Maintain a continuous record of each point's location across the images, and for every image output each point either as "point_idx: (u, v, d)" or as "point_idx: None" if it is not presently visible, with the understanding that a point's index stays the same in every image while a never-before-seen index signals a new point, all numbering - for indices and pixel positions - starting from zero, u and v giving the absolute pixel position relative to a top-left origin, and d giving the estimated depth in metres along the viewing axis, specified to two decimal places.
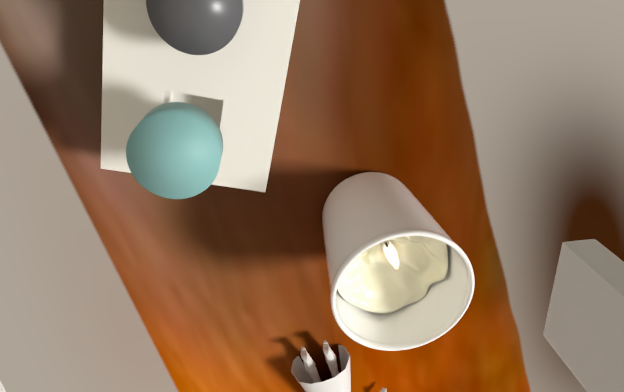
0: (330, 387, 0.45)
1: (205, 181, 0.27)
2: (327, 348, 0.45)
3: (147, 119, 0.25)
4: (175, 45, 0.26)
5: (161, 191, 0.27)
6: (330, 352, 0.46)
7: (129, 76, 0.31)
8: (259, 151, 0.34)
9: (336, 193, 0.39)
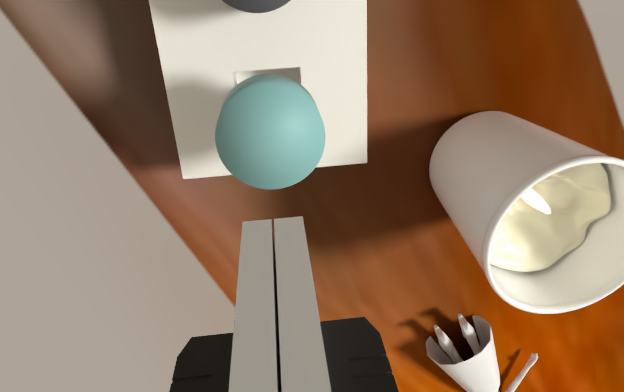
0: (477, 364, 0.40)
1: (312, 159, 0.22)
2: (465, 322, 0.39)
3: (232, 100, 0.21)
4: (241, 6, 0.22)
5: (264, 183, 0.23)
6: (468, 325, 0.40)
7: (191, 66, 0.27)
8: (351, 116, 0.29)
9: (443, 146, 0.33)
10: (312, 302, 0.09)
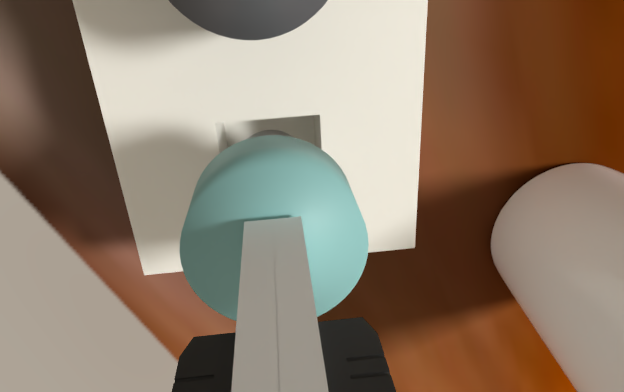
0: None
1: (345, 280, 0.13)
2: None
3: (208, 193, 0.12)
4: (223, 29, 0.12)
5: None
6: None
7: (150, 115, 0.17)
8: (395, 185, 0.19)
9: (517, 215, 0.23)
10: (310, 302, 0.09)
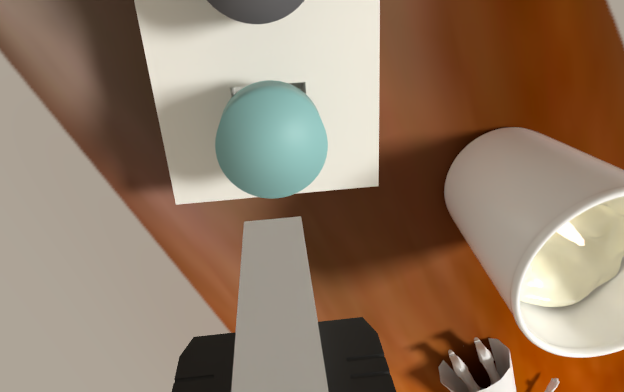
0: None
1: (314, 167, 0.22)
2: (482, 347, 0.36)
3: (233, 107, 0.20)
4: (239, 17, 0.19)
5: (265, 192, 0.22)
6: None
7: (184, 81, 0.24)
8: (362, 136, 0.26)
9: (461, 166, 0.30)
10: (310, 302, 0.09)
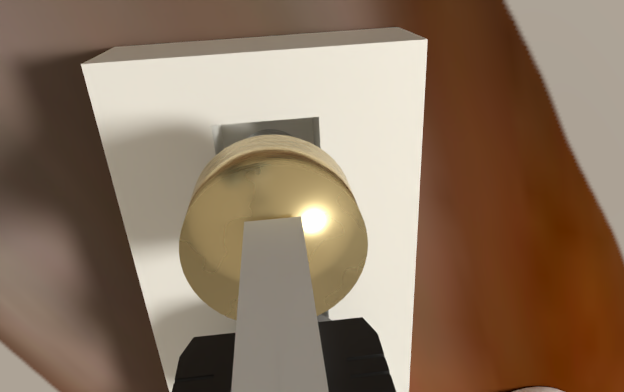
0: None
1: None
2: None
3: None
4: None
5: None
6: None
7: None
8: None
9: None
10: (310, 302, 0.09)
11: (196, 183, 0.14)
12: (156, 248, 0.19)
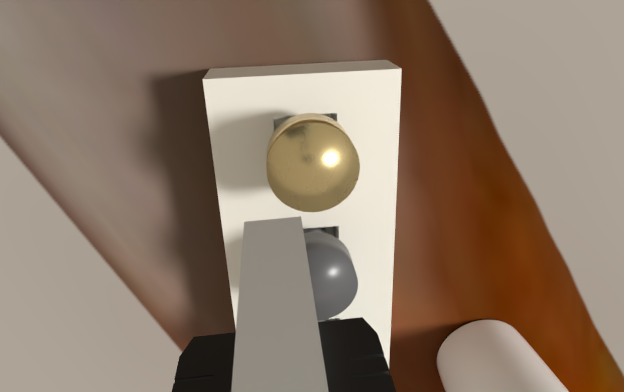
0: None
1: None
2: None
3: None
4: None
5: None
6: None
7: None
8: None
9: (449, 351, 0.41)
10: (310, 302, 0.09)
11: (271, 137, 0.27)
12: (233, 193, 0.30)
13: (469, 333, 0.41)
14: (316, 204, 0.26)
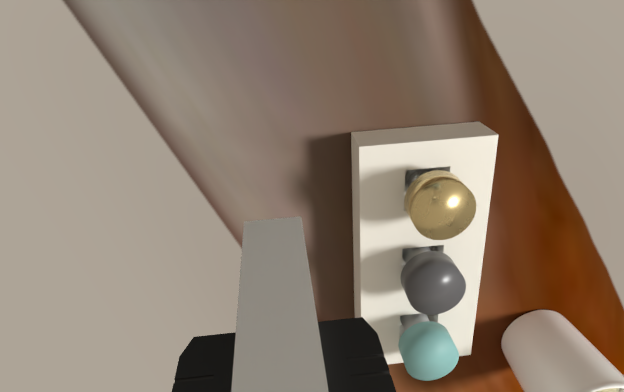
0: None
1: (450, 367, 0.45)
2: None
3: (417, 346, 0.43)
4: (426, 312, 0.42)
5: (425, 378, 0.45)
6: None
7: (377, 314, 0.47)
8: (464, 333, 0.49)
9: (513, 335, 0.53)
10: (310, 302, 0.09)
11: (410, 188, 0.38)
12: (371, 223, 0.42)
13: (529, 320, 0.52)
14: (443, 234, 0.38)
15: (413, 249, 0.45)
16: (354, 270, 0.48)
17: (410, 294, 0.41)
